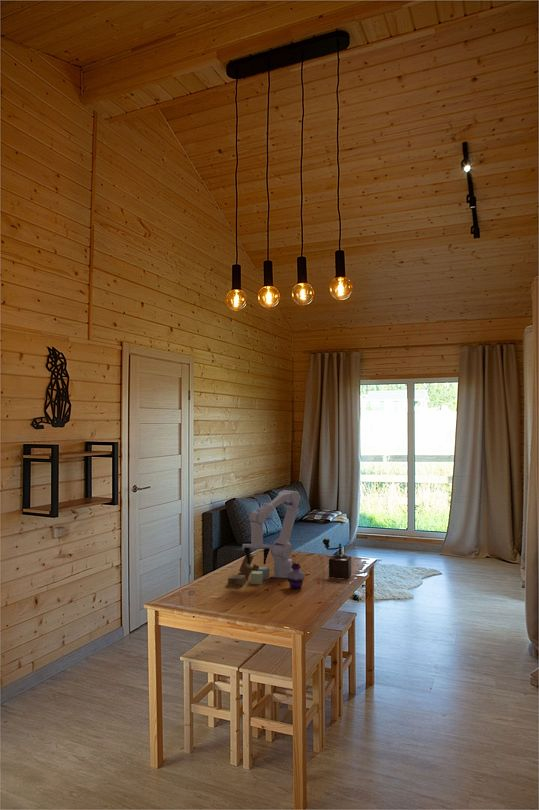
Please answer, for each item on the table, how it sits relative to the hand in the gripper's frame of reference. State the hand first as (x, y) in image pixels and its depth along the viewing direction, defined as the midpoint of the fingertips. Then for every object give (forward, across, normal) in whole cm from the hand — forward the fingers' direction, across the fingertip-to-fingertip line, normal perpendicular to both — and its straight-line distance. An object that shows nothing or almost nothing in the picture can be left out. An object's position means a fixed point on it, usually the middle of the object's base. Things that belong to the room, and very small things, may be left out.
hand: (256, 563), depth 266 cm
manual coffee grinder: (+9, +38, +20) cm, 44 cm away
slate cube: (+9, +2, +9) cm, 13 cm away
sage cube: (+9, 0, 0) cm, 9 cm away
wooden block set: (+10, -8, +14) cm, 19 cm away
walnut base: (+10, -9, -5) cm, 14 cm away
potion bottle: (+9, +20, -6) cm, 23 cm away
